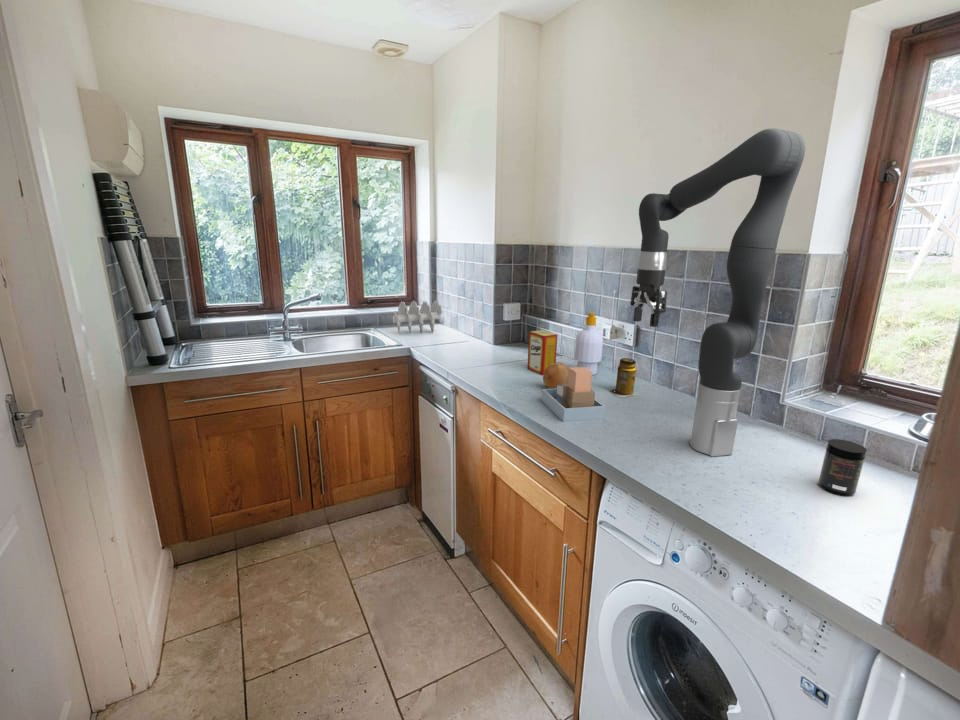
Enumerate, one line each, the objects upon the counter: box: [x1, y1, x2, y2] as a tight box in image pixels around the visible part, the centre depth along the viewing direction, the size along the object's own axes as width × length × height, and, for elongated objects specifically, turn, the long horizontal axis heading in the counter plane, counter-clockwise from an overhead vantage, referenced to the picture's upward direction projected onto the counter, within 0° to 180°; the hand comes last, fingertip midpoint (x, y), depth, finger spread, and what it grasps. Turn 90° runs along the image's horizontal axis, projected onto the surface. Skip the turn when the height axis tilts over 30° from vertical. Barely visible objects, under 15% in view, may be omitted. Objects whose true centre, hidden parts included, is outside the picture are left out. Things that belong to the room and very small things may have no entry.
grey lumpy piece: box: [392, 300, 443, 335], centre depth 249 cm, size 18×18×25 cm
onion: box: [542, 361, 569, 389], centre depth 162 cm, size 10×10×10 cm
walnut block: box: [562, 386, 596, 408], centre depth 139 cm, size 7×7×8 cm
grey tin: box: [556, 383, 568, 405], centre depth 147 cm, size 6×6×6 cm
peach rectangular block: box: [568, 366, 593, 392], centre depth 137 cm, size 5×5×6 cm
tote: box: [541, 388, 607, 423], centre depth 143 cm, size 18×13×4 cm
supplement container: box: [817, 438, 868, 497], centre depth 101 cm, size 7×7×10 cm
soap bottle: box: [574, 312, 604, 376], centre depth 181 cm, size 10×10×24 cm
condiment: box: [608, 357, 639, 398], centre depth 160 cm, size 7×8×12 cm
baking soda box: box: [527, 329, 558, 376], centre depth 183 cm, size 10×6×16 cm
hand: (645, 323), depth 136 cm, fingers open, 8 cm apart
